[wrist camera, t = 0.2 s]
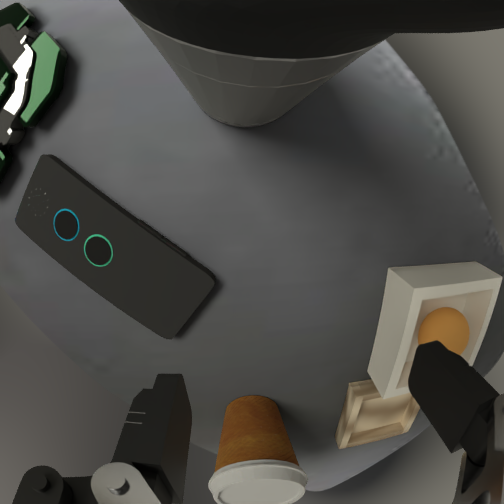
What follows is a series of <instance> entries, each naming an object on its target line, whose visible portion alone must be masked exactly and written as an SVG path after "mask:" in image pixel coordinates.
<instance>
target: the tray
mask: <svg viewBox="0 0 504 504" xmlns="http://www.w3.org/2000/svg"><path fill="white" fill-rule="evenodd" d="M419 409H420V406H419V405H418V403H417V402H416V400H415V399H414V398H413V396H412V395H411V393H407V394H403V395H399V396H395V397H391V398H387V399H382V397H381V395H380V393H379V391H378V390H377V388H376V386H375V384H374V382H373V381H372V379H369V380H363V381H358V382H352V383H349V387H348V391H347V394H346V398H345V402H344V406H343V409H342V413H341V417H340V420H339V423H338V427H337V430H336V433H335V439H336V442H337V445H338V448H339V449H342V448H347V447H352V446H357V445H361V444H365V443H369V442H374V441H377V440H381V439H385V438H389V437H392V436H396V435H399V434H402V433H406V432H408V430H409V428H410V427H411V425H412V423H413V421H414V419H415V417H416V415H417V413H418V411H419Z"/></svg>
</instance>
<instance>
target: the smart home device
mask: <svg viewBox="0 0 504 504" xmlns="http://www.w3.org/2000/svg"><path fill="white" fill-rule="evenodd" d="M15 222H16V224H17V226H18V227H19V228H20V229H21V230H22V231H23V232H24V233H25V234H26V235H27V236H28V237H29V238H30V239H31V240H33V241H34V242H35V243H36V244H37V245H38V246H39V247H40V248H42V249H43V250H44V251H45V252H46V253H47V254H49V255H50V256H51V257H52V258H53V259H55V260H56V261H57V262H58V263H59V264H61V265H62V266H63V267H64V268H66V269H67V270H68V271H69V272H70V273H72V274H73V275H74V276H76V277H77V278H78V279H79V280H81V281H82V282H83V283H85V284H86V285H87V286H89V287H90V288H91V289H92V290H94V291H95V292H97V293H98V294H99V295H101V296H102V297H103V298H105V299H106V300H107V301H109V302H110V303H112V304H113V305H114V306H116V307H117V308H119V309H120V310H122V311H123V312H125V313H126V314H127V315H129V316H130V317H132V318H133V319H135V320H136V321H138V322H139V323H141V324H142V325H144V326H145V327H147V328H148V329H150V330H152V331H153V332H155V333H156V334H158V335H160V336H161V337H163V338H166V339H173V337H174V336H175V335H176V334H177V333H178V331H179V330H180V329H181V327H182V326H183V325H184V324H185V322H186V321H187V320H188V319H189V317H190V316H191V315H192V313H193V312H194V311H195V310H196V308H197V307H198V306H199V305H200V303H201V302H202V301H203V299H204V298H205V297H206V296H207V294H208V293H209V292H210V291H211V289H212V288H213V286H214V285H215V276H214V275H213V273H212V272H211V271H210V270H209V269H207V268H206V267H204V266H203V265H202V264H200V263H199V262H197V261H196V260H194V259H193V258H191V257H190V256H189V255H187V253H186V252H185V251H183V250H182V249H180V248H179V247H177V246H176V245H175V244H173V243H172V242H170V241H169V240H168V239H166V238H165V237H162V235H161V234H159V233H158V232H157V231H155V230H154V229H152V228H151V227H150V226H148V225H147V224H145V223H144V222H143V221H141V220H138V219H137V218H136V217H134V216H133V215H132V214H130V213H129V212H128V211H126V210H125V209H123V208H122V207H121V206H119V205H118V204H117V203H115V202H114V201H113V200H111V199H110V198H109V197H107V196H106V195H105V194H103V193H102V192H101V191H100V190H98V189H97V188H96V187H94V186H93V185H92V184H90V183H89V182H88V181H86V180H85V179H84V178H83V177H81V176H80V175H79V174H77V173H76V172H75V171H74V170H72V169H71V168H70V167H68V166H67V165H66V164H65V163H63V162H62V161H61V160H60V159H58V158H57V157H56V156H54V155H42V156H41V157H40V159H39V161H38V163H37V165H36V168H35V170H34V172H33V174H32V177H31V179H30V181H29V184H28V186H27V189H26V191H25V194H24V196H23V199H22V201H21V204H20V207H19V210H18V212H17V215H16V218H15Z"/></svg>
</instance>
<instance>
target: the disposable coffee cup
mask: <svg viewBox="0 0 504 504" xmlns="http://www.w3.org/2000/svg"><path fill="white" fill-rule="evenodd" d="M307 482H308V477H307V475H306V473H305V472H304V471H303V470H302V469H301V468H300V467H299V464H298V461H297V459H296V456H295V454H294V451H293V447H292V445H291V442H290V440H289V437H288V434H287V431H286V429H285V426H284V423H283V421H282V418H281V415H280V412H279V410H278V407H277V404H276V403H275V402H274V401H272V400H271V399H269V398H266V397H263V396H253V395H252V396H244V397H241V398H238V399H236V400H234V401H232V402H231V403H230V404H229V405H228V406H227V408H226V412H225V418H224V423H223V429H222V434H221V439H220V445H219V450H218V455H217V460H216V466H215V473H214V474H213V476H212V478H211V479H210V481H209V484H208V485H209V490H210V491H211V492H212V494H213V497H214V500H215V501H216V502H217V503H218V504H291V503H293V502H295V501H297V500H298V499H300V498H301V497H302V496H303V495H304V493H305V486H306V484H307Z"/></svg>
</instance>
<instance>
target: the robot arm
mask: <svg viewBox="0 0 504 504" xmlns="http://www.w3.org/2000/svg"><path fill="white" fill-rule="evenodd" d="M119 1H120V2H121V3H122V4H123V6H124V7H125V8H126V9H127V10H128V12H129V13H130V14H131V16H132V17H133V18H134V20H135V21H136V22H137V23H138V25H139V26H140V27H141V29H142V30H143V31H144V32H145V34H146V35H147V36H148V38H149V39H150V40H151V42H152V43H153V44H154V45H155V46H156V48H157V49H158V50H159V52H160V53H161V54H162V56H163V57H164V58H165V60H166V61H167V62H168V64H169V65H170V67H171V68H172V69H173V71H174V72H175V73H176V75H177V76H178V78H179V79H180V80H181V82H182V83H183V84H184V86H185V87H186V89H187V90H188V92H189V93H190V94H191V96H192V97H193V99H194V100H195V101H196V103H197V104H198V105H199V106H200V108H201V109H202V110H203V111H204V112H205V113H207V114H208V115H209V116H210V117H212V118H213V119H215V120H217V121H219V122H221V123H224V124H227V125H231V126H235V127H255V126H261V125H264V124H267V123H270V122H272V121H274V120H276V119H278V118H280V117H281V116H282V115H284V114H285V113H286V112H287V111H289V110H290V109H291V108H293V107H294V106H295V105H297V104H298V103H299V102H300V101H302V100H303V99H304V98H305V97H307V96H308V95H309V94H311V93H312V92H313V91H314V90H316V89H317V88H318V87H320V86H321V85H322V84H324V83H325V82H326V81H328V80H329V79H330V78H332V77H333V76H334V75H336V74H337V73H338V72H340V71H341V70H343V69H344V68H345V67H347V66H348V65H349V64H350V63H352V62H353V61H355V60H356V59H357V58H359V57H360V56H362V55H363V54H365V53H366V52H367V51H369V50H370V49H372V48H373V47H375V46H376V45H378V44H379V43H381V42H382V41H384V40H385V39H387V38H388V37H389V36H391V35H393V34H394V33H460V32H475V31H486V30H493V29H501V28H504V0H119ZM408 388H409V391H410V393H411V395H412V396H413V398H414V399H415V400H416V402H417V403H418V405H419V406H420V408H421V409H422V411H423V412H424V413H425V415H426V416H427V418H428V419H429V421H430V422H431V424H432V425H433V427H434V428H435V430H436V431H437V433H438V434H439V436H440V437H441V438H442V440H443V441H444V443H445V445H446V446H447V448H448V449H449V451H450V452H451V453H453V452H455V451H457V450H459V449H461V448H464V450H465V452H464V453H463V455H462V460H461V466H460V472H459V478H458V483H457V488H456V493H455V497H454V500H453V503H452V504H504V394H501V395H500V394H498V392H497V391H496V390H495V389H494V388H493V387H492V386H491V385H490V384H489V383H488V382H487V381H486V380H485V379H484V378H483V377H482V376H481V375H480V374H479V373H478V372H476V370H475V369H474V368H473V367H472V366H469V363H468V362H467V361H466V360H465V359H464V358H463V357H462V356H460V355H458V354H456V353H454V352H452V351H450V350H448V349H447V348H446V347H445V346H444V345H443V344H442V343H441V342H440V341H438V340H435V341H432V342H428V343H424V344H420V345H419V346H418V347H417V349H416V352H415V356H414V360H413V363H412V367H411V370H410V374H409V378H408ZM191 426H192V412H191V406H190V402H189V399H188V395H187V391H186V387H185V383H184V379H183V376H182V374H158V375H157V377H156V380H155V384H154V387H153V389H143V390H142V391H141V392H140V393H139V394H138V395H137V396H136V397H135V398H134V399H133V402H132V404H131V407H130V410H129V413H128V415H127V418H126V423H125V424H124V427H123V429H122V433H121V435H120V438H119V441H118V444H117V447H116V450H115V453H114V456H113V459H112V461H111V463H109V464H106V465H104V466H102V467H100V468H99V469H98V470H97V471H96V472H95V473H94V475H93V476H87V477H61V475H60V474H59V473H58V472H57V471H56V470H55V469H53V468H51V467H48V466H36V467H33V468H31V469H30V470H28V471H27V472H26V473H25V474H24V476H23V478H22V480H21V483H20V485H19V487H18V490H17V493H16V495H15V498H14V500H13V503H12V504H172V503H175V504H182V503H183V495H184V485H185V476H186V467H187V459H188V449H189V442H190V434H191Z"/></svg>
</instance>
